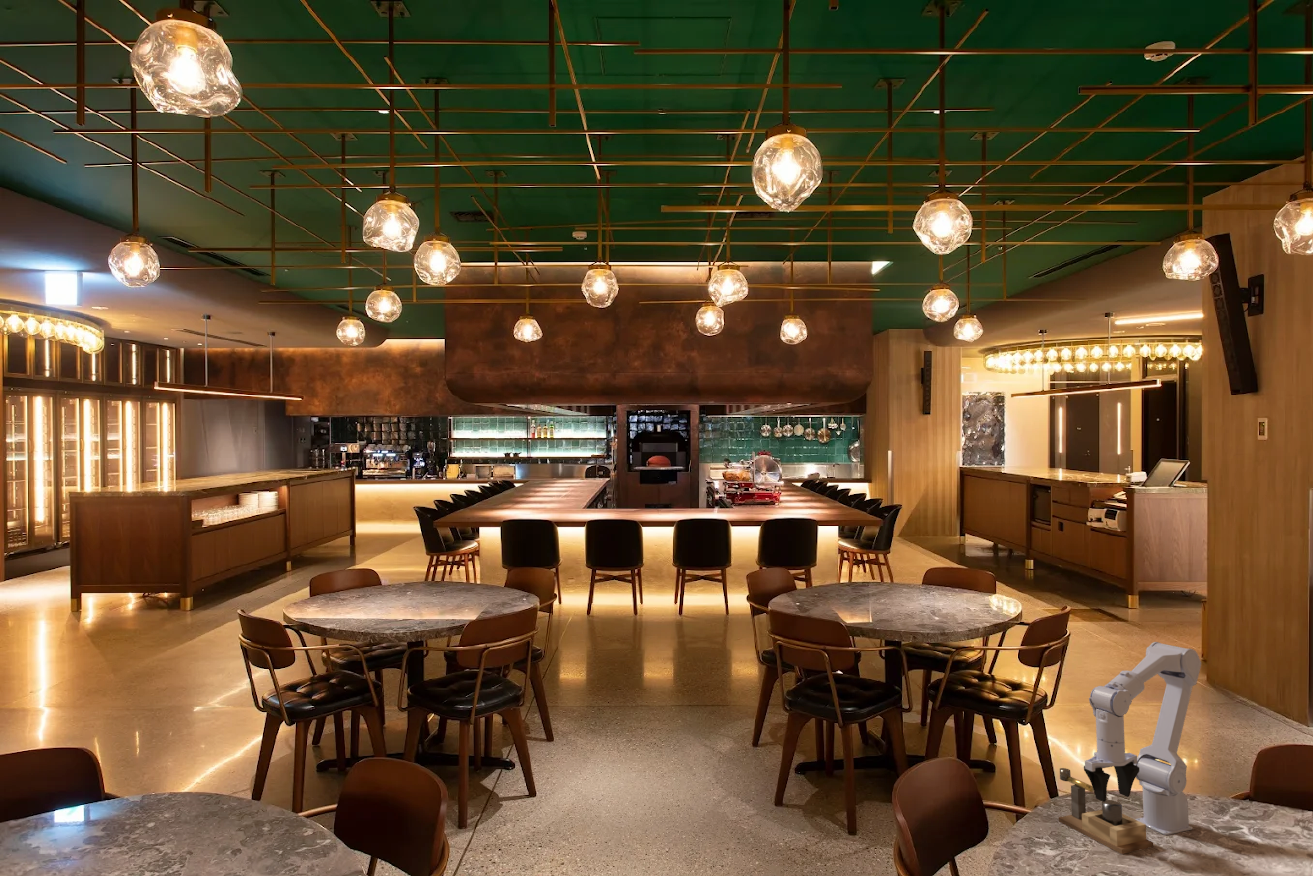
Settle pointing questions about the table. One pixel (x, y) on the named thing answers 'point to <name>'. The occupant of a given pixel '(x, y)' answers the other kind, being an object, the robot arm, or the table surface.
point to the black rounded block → (1112, 812)
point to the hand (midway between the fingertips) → (1112, 797)
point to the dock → (1105, 826)
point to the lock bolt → (1073, 779)
